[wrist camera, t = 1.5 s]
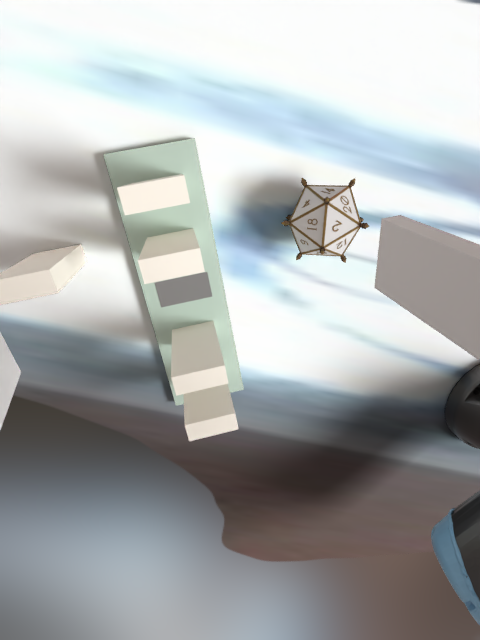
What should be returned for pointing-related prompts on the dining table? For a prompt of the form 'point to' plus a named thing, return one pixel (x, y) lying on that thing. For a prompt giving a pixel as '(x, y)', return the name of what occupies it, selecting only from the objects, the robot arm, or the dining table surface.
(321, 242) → the game die
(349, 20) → the dining table surface
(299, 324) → the dining table surface
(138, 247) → the board
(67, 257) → the domino
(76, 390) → the dining table surface
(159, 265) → the domino
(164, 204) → the domino
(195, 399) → the domino
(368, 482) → the dining table surface
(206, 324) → the domino
